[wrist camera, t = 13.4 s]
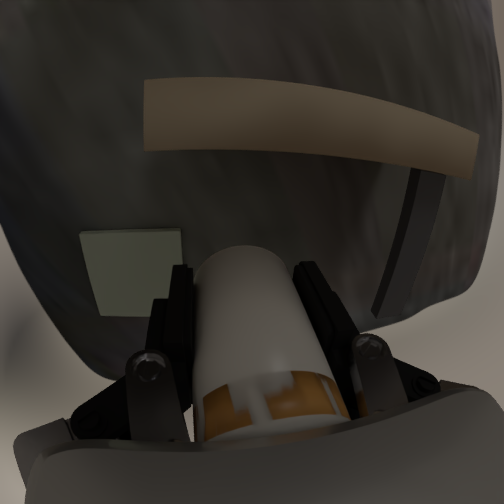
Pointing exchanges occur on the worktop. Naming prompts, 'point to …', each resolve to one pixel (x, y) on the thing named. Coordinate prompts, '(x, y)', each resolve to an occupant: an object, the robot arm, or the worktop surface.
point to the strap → (409, 241)
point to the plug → (256, 352)
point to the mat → (130, 267)
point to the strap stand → (300, 123)
